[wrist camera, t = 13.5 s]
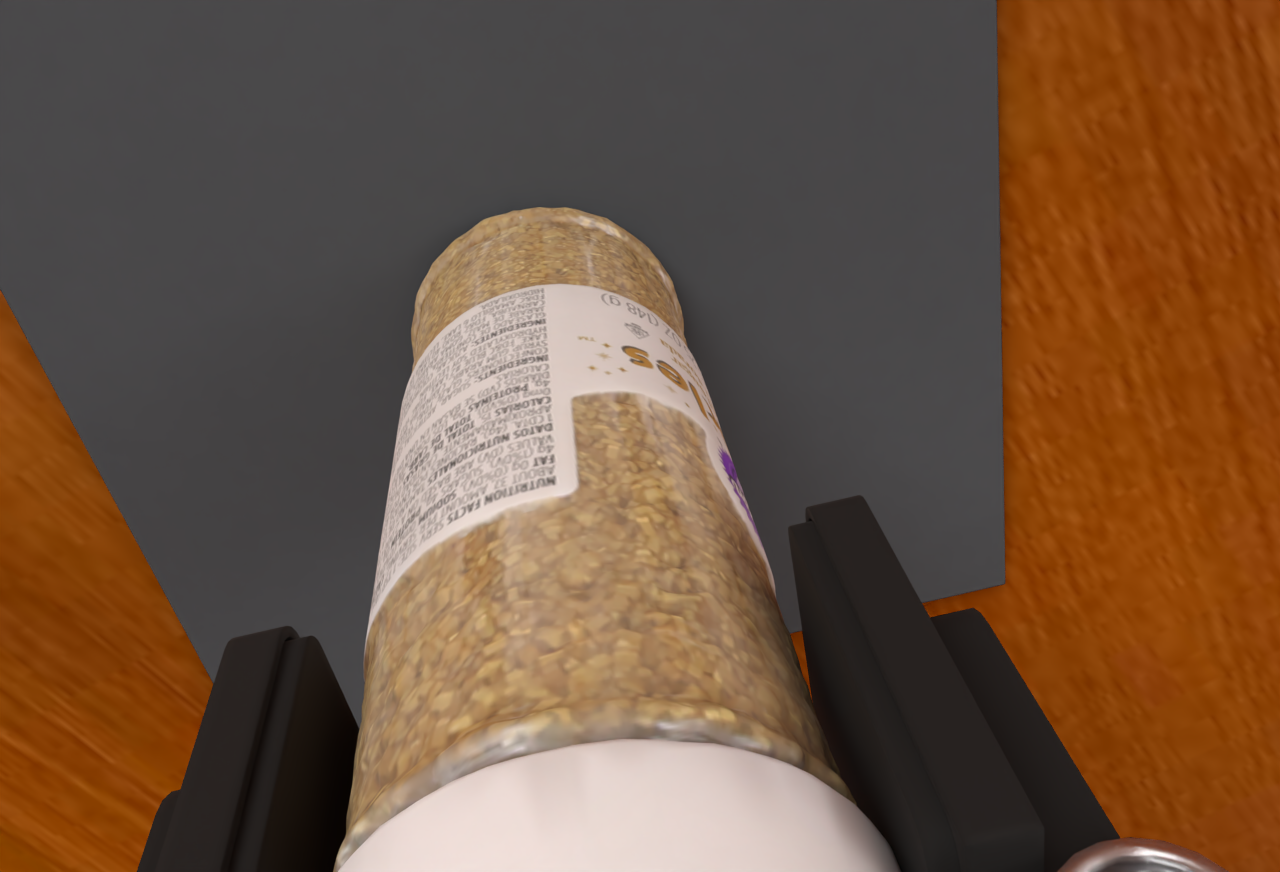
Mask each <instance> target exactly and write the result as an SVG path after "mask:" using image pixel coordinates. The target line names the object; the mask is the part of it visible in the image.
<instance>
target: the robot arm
mask: <svg viewBox="0 0 1280 872" xmlns="http://www.w3.org/2000/svg"><path fill="white" fill-rule="evenodd" d="M805 519H806V522H805V523H801V524H796V525H792V526H789V527H788V535H789V543H790V550H791V557H792V564H793V570H794V577H795V584H796V591H797V598H798V605H799V612H800V619H801V625H802V632H803V639H804V646H805V653H806V660H807V667H808V674H809V680H810V687H811V694H812V701H813V706H814V709H815V712H816V716H817V719H818V721H819V723H820V726H821V728H822V730H823V733H824V735H825V737H826V740H827V742H828V745H829V749H830V752H831V754H832V756H833V758H834V760H835V763H836V765H837V767H838V769H839V771H840V777H841V779H842V780H843V781H844V782H845V784H846V785H847V787H848V788H849V790H850V792H851V794H852V796H853V798H854V800H855V801H856V804H857V807H858V808H859V809H860V810H861V811H862V812H863V813H864V814H865V815H866V817H867V818H868V819H869V820H870V821H871V822H872V823H873V824H874V826H875V827H876V828H877V829H878V831H879V832H880V833H881V834H882V836H883V837H884V838H885V839H886V841H887V842H888V844H889V845H890V847H891V849H892V851H893V853H894V856H895V858H896V860H897V863H898V865H899V867H900V870H901V872H1228V871H1227V870H1225V869H1224V868H1222V867H1220V866H1219V865H1217V864H1215V863H1214V862H1212V861H1211V860H1209V859H1207V858H1206V857H1204V856H1202V855H1201V854H1199V853H1197V852H1195V851H1192V850H1189V849H1186V848H1183V847H1180V846H1177V845H1174V844H1171V843H1168V842H1165V841H1161V840H1151V839H1141V838H1132V837H1129V838H1122V839H1120V837H1119V835H1118V834H1117V832H1116V830H1115V829H1114V827H1113V826H1112V824H1111V822H1110V821H1109V819H1108V817H1107V816H1106V814H1105V812H1104V811H1103V809H1102V808H1101V806H1100V804H1099V803H1098V801H1097V799H1096V798H1095V796H1094V795H1093V793H1092V791H1091V790H1090V788H1089V786H1088V785H1087V783H1086V782H1085V780H1084V778H1083V777H1082V775H1081V773H1080V772H1079V770H1078V768H1077V767H1076V765H1075V764H1074V762H1073V760H1072V759H1071V757H1070V755H1069V754H1068V752H1067V751H1066V749H1065V747H1064V746H1063V744H1062V742H1061V741H1060V739H1059V738H1058V736H1057V734H1056V733H1055V731H1054V729H1053V728H1052V726H1051V724H1050V723H1049V721H1048V720H1047V718H1046V716H1045V715H1044V713H1043V711H1042V710H1041V708H1040V707H1039V705H1038V703H1037V702H1036V700H1035V698H1034V697H1033V695H1032V694H1031V692H1030V690H1029V689H1028V687H1027V685H1026V684H1025V682H1024V681H1023V679H1022V677H1021V676H1020V674H1019V672H1018V671H1017V669H1016V667H1015V666H1014V664H1013V663H1012V661H1011V659H1010V658H1009V656H1008V654H1007V653H1006V651H1005V650H1004V648H1003V646H1002V645H1001V643H1000V641H999V640H998V638H997V637H996V635H995V633H994V632H993V630H992V628H991V627H990V625H989V624H988V622H987V621H986V620H985V618H984V617H983V616H982V614H981V613H980V612H979V611H977V610H976V609H974V608H971V609H966V610H962V611H957V612H953V613H949V614H944V615H940V616H936V617H931V618H930V617H929V615H928V614H927V612H926V610H925V608H924V606H923V604H922V603H921V601H920V599H919V597H918V595H917V593H916V592H915V590H914V588H913V586H912V584H911V582H910V581H909V579H908V577H907V575H906V573H905V571H904V570H903V568H902V566H901V564H900V562H899V560H898V559H897V557H896V555H895V553H894V551H893V549H892V548H891V546H890V544H889V542H888V540H887V538H886V537H885V535H884V533H883V531H882V529H881V527H880V526H879V524H878V522H877V520H876V518H875V516H874V515H873V513H872V511H871V509H870V507H869V505H868V504H867V502H866V500H865V499H864V497H863V496H861V495H857V496H853V497H848V498H844V499H839V500H835V501H831V502H826V503H822V504H817V505H813V506H809V507H806V509H805ZM359 730H360V729H359V727H358V725H357V723H356V720H355V718H354V716H353V714H352V712H351V709H350V707H349V705H348V703H347V701H346V699H345V696H344V694H343V692H342V690H341V688H340V685H339V683H338V681H337V679H336V677H335V674H334V672H333V670H332V668H331V666H330V664H329V661H328V659H327V657H326V655H325V653H324V650H323V648H322V646H321V644H320V643H319V641H318V639H317V638H316V637H315V636H311V635H310V636H306V637H302V638H300V636H299V635H298V633H297V631H296V630H295V629H293V628H292V627H291V626H283V627H279V628H274V629H270V630H266V631H261V632H257V633H253V634H248V635H244V636H239V637H235V638H232V639H231V640H230V641H228V643H227V645H226V647H225V649H224V652H223V656H222V659H221V662H220V665H219V668H218V672H217V675H216V678H215V681H214V684H213V688H212V691H211V694H210V697H209V700H208V703H207V707H206V710H205V713H204V716H203V719H202V723H201V726H200V729H199V732H198V735H197V739H196V742H195V745H194V748H193V751H192V754H191V758H190V761H189V764H188V767H187V770H186V774H185V777H184V780H183V783H182V786H181V790H177V791H173V792H171V793H170V794H169V795H168V796H167V797H166V798H165V799H163V801H162V803H161V805H160V807H159V809H158V811H157V813H156V815H155V818H154V821H153V824H152V827H151V830H150V833H149V836H148V840H147V843H146V846H145V849H144V852H143V855H142V858H141V861H140V864H139V867H138V870H137V872H333V870H334V866H335V862H336V858H337V855H338V852H339V849H340V847H341V844H342V843H343V841H344V839H345V836H346V816H347V811H348V806H349V800H350V794H351V788H352V782H353V770H354V758H355V752H356V745H357V739H358V734H359Z"/></svg>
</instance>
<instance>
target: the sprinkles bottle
mask: <svg viewBox="0 0 1280 872" xmlns="http://www.w3.org/2000/svg"><path fill="white" fill-rule="evenodd" d="M411 340H412V348H413V356H414V363H413V369H412V374H411V377H410V379H409V382H408V384H407V387H406V391H405V394H404V398H403V402H402V407H401V413H400V419H399V425H398V431H397V438H396V445H395V452H394V458H393V465H392V472H391V478H390V485H389V491H388V498H387V504H386V510H385V517H384V523H383V529H382V536H381V543H380V549H379V556H378V563H377V570H376V576H375V583H374V590H373V597H372V603H371V610H370V616H369V623H368V629H367V636H366V643H365V652H364V662H363V665H364V681H365V685H364V699H363V703H362V722H361V726H360V730H359V734H358V739H357V745H356V752H355V758H354V770H353V782H352V788H351V794H350V800H349V806H348V811H347V816H346V836H345V839H344V841H343V843H342V844H341V847H340V849H339V852H338V855H337V858H336V862H335V866H334V870H333V872H901V870H900V867H899V865H898V863H897V860H896V858H895V856H894V853H893V851H892V849H891V847H890V845H889V844H888V842H887V841H886V839H885V838H884V837H883V836H882V834H881V833H880V832H879V831H878V829H877V828H876V827H875V826H874V824H873V823H872V822H871V821H870V820H869V819H868V818H867V817H866V815H865V814H864V813H863V812H862V811H861V810H860V809H859V808H858V807H857V804H856V801H855V800H854V798H853V796H852V794H851V792H850V790H849V788H848V787H847V785H846V784H845V782H844V781H843V780H842V779H841V777H840V771H839V769H838V767H837V765H836V763H835V760H834V758H833V756H832V754H831V752H830V749H829V745H828V742H827V740H826V737H825V735H824V733H823V730H822V728H821V726H820V723H819V721H818V719H817V716H816V712H815V709H814V706H813V703H812V700H811V696H810V692H809V689H808V685H807V683H806V681H805V679H804V677H803V675H802V672H801V668H800V664H799V660H798V657H797V654H796V652H795V649H794V646H793V643H792V639H791V635H790V633H789V631H788V629H787V627H786V625H785V623H784V620H783V617H782V614H781V611H780V609H779V606H778V603H777V600H776V593H775V584H774V579H773V575H772V572H771V569H770V565H769V562H768V559H767V556H766V554H765V551H764V548H763V545H762V543H761V540H760V537H759V534H758V532H757V529H756V526H755V523H754V521H753V518H752V515H751V512H750V510H749V507H748V504H747V501H746V499H745V496H744V493H743V490H742V487H741V485H740V482H739V480H738V477H737V474H736V471H735V467H734V464H733V462H732V459H731V456H730V453H729V450H728V448H727V445H726V442H725V440H724V437H723V434H722V431H721V428H720V425H719V422H718V419H717V416H716V413H715V410H714V407H713V404H712V401H711V398H710V395H709V393H708V390H707V387H706V385H705V382H704V379H703V377H702V374H701V372H700V369H699V367H698V365H697V363H696V361H695V359H694V357H693V355H692V354H691V352H690V351H689V349H688V347H687V343H686V339H685V337H684V322H683V315H682V310H681V306H680V304H679V301H678V299H677V294H676V292H675V289H674V285H673V282H672V280H671V278H670V276H669V275H668V273H667V272H666V270H665V269H664V267H663V266H662V264H661V263H660V261H659V260H658V259H657V258H656V257H655V256H654V254H653V253H652V252H651V250H650V249H649V248H648V247H647V246H646V245H645V244H644V243H642V242H641V241H640V240H638V239H637V238H636V237H634V236H633V235H632V234H630V233H629V232H627V231H626V230H625V229H623V228H621V227H620V226H618V225H617V224H615V223H613V222H612V221H610V220H609V219H607V218H604V217H601V216H597V215H594V214H590V213H587V212H583V211H581V210H577V209H572V208H567V207H563V208H542V207H536V208H529V209H524V210H518V211H511V212H509V213H506V214H501V215H496V216H493V217H489V218H486V219H484V220H482V221H481V222H479V223H478V224H477V225H475V226H474V227H473V228H472V229H470V230H469V231H468V232H466V233H465V234H463V235H462V236H460V237H459V238H457V239H455V240H454V241H453V242H452V243H451V244H450V245H449V246H448V247H447V248H446V250H445V251H444V252H443V253H442V254H441V255H440V256H439V257H438V258H437V259H436V260H435V261H434V262H433V263H432V265H431V268H430V270H429V272H428V274H427V275H426V277H425V279H424V280H423V282H422V284H421V286H420V288H419V290H418V292H417V296H416V301H415V312H414V317H413V322H412V327H411Z"/></svg>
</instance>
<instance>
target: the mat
mask: <svg viewBox="0 0 1280 872" xmlns="http://www.w3.org/2000/svg"><path fill="white" fill-rule="evenodd" d="M536 207H542V208H563V207H567V208H572V209H577V210H581V211H583V212H587V213H590V214H594V215H597V216H601V217H604V218H607V219H609V220H610V221H612V222H613V223H615V224H617V225H618V226H620V227H621V228H623V229H625V230H626V231H627V232H629V233H630V234H632V235H633V236H634V237H636V238H637V239H638V240H640V241H641V242H642V243H644V244H645V245H646V246H647V247H648V248H649V249H650V250H651V252H652V253H653V254H654V256H655V257H656V258H657V259H658V260H659V261H660V263H661V264H662V266H663V267H664V269H665V270H666V272H667V273H668V275H669V276H670V278H671V280H672V282H673V285H674V289H675V292H676V294H677V299H678V301H679V304H680V306H681V310H682V315H683V322H684V337H685V339H686V343H687V347H688V349H689V351H690V352H691V354H692V355H693V357H694V359H695V361H696V363H697V365H698V367H699V369H700V372H701V374H702V377H703V379H704V382H705V385H706V387H707V390H708V393H709V395H710V398H711V401H712V404H713V407H714V410H715V413H716V416H717V419H718V422H719V425H720V428H721V431H722V434H723V437H724V440H725V442H726V445H727V448H728V450H729V453H730V456H731V459H732V462H733V464H734V467H735V471H736V474H737V477H738V480H739V482H740V485H741V487H742V490H743V493H744V496H745V499H746V501H747V504H748V507H749V510H750V512H751V515H752V518H753V521H754V523H755V526H756V529H757V532H758V534H759V537H760V540H761V543H762V545H763V548H764V551H765V554H766V556H767V559H768V562H769V565H770V569H771V572H772V575H773V579H774V584H775V593H776V600H777V603H778V606H779V609H780V611H781V614H782V617H783V620H784V623H785V625H786V627H787V629H788V631H789V633H794V632H798V631H802V625H801V619H800V612H799V605H798V598H797V591H796V584H795V577H794V570H793V564H792V557H791V550H790V543H789V535H788V527H789V526H792V525H796V524H801V523H805V522H806V519H805V509H806V507H809V506H813V505H817V504H822V503H826V502H831V501H835V500H839V499H844V498H848V497H853V496H857V495H861V496H863V497H864V499H865V500H866V502H867V504H868V505H869V507H870V509H871V511H872V513H873V515H874V516H875V518H876V520H877V522H878V524H879V526H880V527H881V529H882V531H883V533H884V535H885V537H886V538H887V540H888V542H889V544H890V546H891V548H892V549H893V551H894V553H895V555H896V557H897V559H898V560H899V562H900V564H901V566H902V568H903V570H904V571H905V573H906V575H907V577H908V579H909V581H910V582H911V584H912V586H913V588H914V590H915V592H916V593H917V595H918V597H919V599H920V601H921V603H925V602H929V601H933V600H938V599H942V598H946V597H951V596H955V595H959V594H964V593H968V592H972V591H977V590H981V589H986V588H990V587H994V586H999V585H1003V584H1005V533H1004V466H1003V399H1002V332H1001V265H1000V198H999V131H998V63H997V0H0V290H1V291H2V293H3V295H4V297H5V299H6V301H7V303H8V304H9V306H10V308H11V310H12V312H13V314H14V315H15V317H16V319H17V321H18V323H19V325H20V327H21V328H22V330H23V332H24V334H25V336H26V338H27V340H28V341H29V343H30V345H31V347H32V349H33V351H34V352H35V354H36V356H37V358H38V360H39V362H40V364H41V365H42V367H43V369H44V371H45V373H46V375H47V377H48V378H49V380H50V382H51V384H52V386H53V388H54V390H55V391H56V393H57V395H58V397H59V399H60V401H61V402H62V404H63V406H64V408H65V410H66V412H67V414H68V415H69V417H70V419H71V421H72V423H73V425H74V427H75V428H76V430H77V432H78V434H79V436H80V438H81V439H82V441H83V443H84V445H85V447H86V449H87V451H88V452H89V454H90V456H91V458H92V460H93V462H94V464H95V465H96V467H97V469H98V471H99V473H100V475H101V476H102V478H103V480H104V482H105V484H106V486H107V488H108V489H109V491H110V493H111V495H112V497H113V499H114V501H115V502H116V504H117V506H118V508H119V510H120V512H121V513H122V515H123V517H124V519H125V521H126V523H127V525H128V526H129V528H130V530H131V532H132V534H133V536H134V538H135V539H136V541H137V543H138V545H139V547H140V549H141V550H142V552H143V554H144V556H145V558H146V560H147V562H148V563H149V565H150V567H151V569H152V571H153V573H154V575H155V576H156V578H157V580H158V582H159V584H160V586H161V587H162V589H163V591H164V593H165V595H166V597H167V599H168V600H169V602H170V604H171V606H172V608H173V610H174V612H175V613H176V615H177V617H178V619H179V621H180V623H181V624H182V626H183V628H184V630H185V632H186V634H187V636H188V637H189V639H190V641H191V643H192V645H193V647H194V649H195V650H196V652H197V654H198V656H199V658H200V660H201V661H202V663H203V665H204V667H205V669H206V671H207V673H208V674H209V676H210V678H211V680H212V682H213V684H214V681H215V678H216V675H217V672H218V668H219V665H220V662H221V659H222V656H223V652H224V649H225V647H226V645H227V643H228V641H230V640H231V639H232V638H235V637H239V636H244V635H248V634H253V633H257V632H261V631H266V630H270V629H274V628H279V627H283V626H291V627H292V628H293V629H295V630H296V631H297V633H298V635H299V636H300V638H302V637H306V636H310V635H311V636H315V637H316V638H317V639H318V641H319V643H320V644H321V646H322V648H323V650H324V653H325V655H326V657H327V659H328V661H329V664H330V666H331V668H332V670H333V672H334V674H335V677H336V679H337V681H338V683H339V685H340V688H341V690H342V692H343V694H344V696H345V699H346V701H347V703H348V705H349V707H350V709H351V712H352V714H353V716H354V718H355V720H356V723H357V725H358V727H359V729H360V726H361V722H362V703H363V699H364V685H365V681H364V665H363V662H364V652H365V643H366V636H367V629H368V623H369V616H370V610H371V603H372V597H373V590H374V583H375V576H376V570H377V563H378V556H379V549H380V543H381V536H382V529H383V523H384V517H385V510H386V504H387V498H388V491H389V485H390V478H391V472H392V465H393V458H394V452H395V445H396V438H397V431H398V425H399V419H400V413H401V407H402V402H403V398H404V394H405V391H406V387H407V384H408V382H409V379H410V377H411V374H412V369H413V363H414V356H413V348H412V340H411V327H412V322H413V317H414V312H415V301H416V296H417V292H418V290H419V288H420V286H421V284H422V282H423V280H424V279H425V277H426V275H427V274H428V272H429V270H430V268H431V265H432V263H433V262H434V261H435V260H436V259H437V258H438V257H439V256H440V255H441V254H442V253H443V252H444V251H445V250H446V248H447V247H448V246H449V245H450V244H451V243H452V242H453V241H454V240H455V239H457V238H459V237H460V236H462V235H463V234H465V233H466V232H468V231H469V230H470V229H472V228H473V227H474V226H475V225H477V224H478V223H479V222H481V221H482V220H484V219H486V218H489V217H493V216H496V215H501V214H506V213H509V212H511V211H518V210H524V209H529V208H536Z"/></svg>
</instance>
